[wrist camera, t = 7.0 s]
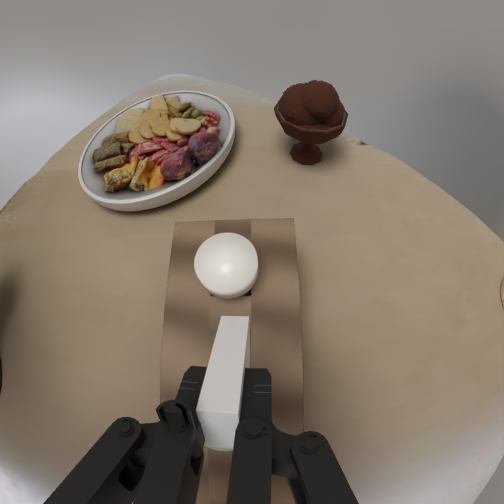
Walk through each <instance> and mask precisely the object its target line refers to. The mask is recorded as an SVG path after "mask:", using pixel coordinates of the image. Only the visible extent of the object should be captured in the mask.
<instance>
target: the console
mask: <svg viewBox="0 0 504 504" xmlns="http://www.w3.org/2000/svg"><path fill="white" fill-rule="evenodd" d="M220 233H235V234H239V235H241V236H243V237H245V238H246V239H248V240H249V241H250V242H251V243H252V245H253V246H254V248H255V250H256V252H257V258H258V277H257V280H256V282H255V284H254V285H253V287H252V288H251V296H240V297H237V298H232V299H223V298H219V297H216V296H214V295H212V294H211V293H209V292H208V291H207V290H206V289H205V287H204V286H203V284H202V283H201V281H200V280H199V278H198V277H197V275H196V272H195V268H194V260H195V255H196V253H197V250H198V249H199V247H200V246H201V245H202V243H203V242H204V241H206V240H207V239H208V238H210V237H212V236H214V235H216V234H220ZM221 316H249V328H250V365H249V368H267V369H268V371H269V373H270V374H271V376H272V422H273V424H274V426H275V427H276V428H277V429H279V430H280V431H282V432H285V433H288V434H292V435H296V436H297V435H298V434H300V433H303V363H302V334H301V312H300V294H299V278H298V264H297V250H296V238H295V226H294V218H284V219H245V220H217V221H195V222H175V229H174V235H173V242H172V249H171V257H170V264H169V273H168V281H167V291H166V301H165V311H164V323H163V337H162V354H161V379H160V404H161V403H163V402H165V401H168V400H175V398H176V395H177V392H178V390H179V387H180V384H181V382H182V378H183V375H184V373H185V372H186V371H187V370H188V368H189V367H190V366H202V367H208V363H209V359H210V356H211V352H212V348H213V345H214V341H215V337H216V334H217V330H218V326H219V323H220V319H221ZM203 451H204V462H203V467H202V472H201V477H200V483H199V488H198V493H197V498H196V504H226V502H227V494H228V486H229V478H230V470H231V462H232V454H233V450H232V451H217V450H213V449H210V448H208V447H206V446H204V447H203ZM271 504H295V501H294V498H293V495H292V492H291V489H290V486H289V484H288V481H287V478H285V477H281V476H277V475H273V474H272V476H271Z"/></svg>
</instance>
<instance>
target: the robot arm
mask: <svg viewBox="0 0 504 504" xmlns="http://www.w3.org/2000/svg"><path fill="white" fill-rule="evenodd" d="M249 365H250V328H249V316H221V319H220V323H219V326H218V330H217V334H216V337H215V341H214V345H213V348H212V352H211V356H210V359H209V363H208V367H202V366H190V367H189V368H188V370H187V371H186V372H185V373H184V375H183V378H182V382H181V384H180V387H179V390H178V392H177V395H176V398H175V400H168V401H165V402H163V403H161V404H160V405H159V406H158V407H157V409H156V412H157V414H158V416H159V419H160V421H159V422H156V423H146V424H140V423H139V422H138V421H137V420H136V419H134V418H131V417H122V418H119V419H117V420H116V421H115V422H113V423H112V425H111V426H110V427H109V428H108V429H107V430H106V432H105V433H104V434H103V435H102V436H101V437H100V439H99V440H98V441H97V442H96V443H95V444H94V446H93V447H92V448H91V449H90V450H89V451H88V453H87V454H86V455H85V456H84V457H83V458H82V460H81V461H80V462H79V463H78V464H77V465H76V466H75V468H74V469H73V470H72V471H71V472H70V473H69V475H68V476H67V477H66V478H65V479H64V480H63V482H62V483H61V484H60V485H59V486H58V487H57V488H56V490H55V491H54V492H53V493H52V494H51V495H50V497H49V498H48V499H47V500H46V501H45V502H44V503H43V504H132V502H133V501H134V499H135V501H134V504H196V498H197V493H198V488H199V483H200V477H201V472H202V467H203V462H204V451H203V447H204V443H205V444H206V446H209V447H219V448H232V449H233V454H232V462H231V470H230V478H229V486H228V494H227V502H226V504H271V476H272V474H273V475H277V476H281V477H285V478H287V481H288V484H289V486H290V489H291V492H292V495H293V498H294V501H295V504H359V503H358V501H357V499H356V497H355V495H354V493H353V491H352V489H351V487H350V485H349V483H348V481H347V479H346V477H345V475H344V473H343V471H342V469H341V467H340V465H339V463H338V461H337V459H336V457H335V455H334V453H333V451H332V449H331V447H330V445H329V443H328V441H327V439H326V438H325V437H324V436H323V435H321V434H320V433H317V432H312V431H309V432H303V433H300V434H298V435H297V436H296V435H292V434H288V433H285V432H282V431H280V430H279V429H277V428H276V427H275V426H274V424H273V422H272V376H271V374H270V373H269V371H268V369H267V368H249ZM1 379H2V373H1V361H0V389H1Z"/></svg>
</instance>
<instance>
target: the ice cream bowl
mask: <svg viewBox="0 0 504 504" xmlns="http://www.w3.org/2000/svg"><path fill="white" fill-rule="evenodd" d="M274 111H275V115H276V117H277V119H278V121H279V123H280V124H281V126H282V128H283V130H284V132H285V133H286V134H287V135H289V136H291V137H292V138H294V139H296V140H298V141H300V143H298V144H295V145H294V146H293V148H292V150H291V152H290V154H291V156H292V158H293V160H295V161H296V162H298V163H300V164H302V165H314V164H316V163H318V162H320V160H321V158H322V152H321V151H320V149H319V147H318V146H316V145H314V144H321V143H324V142H327V141H329V140H331V139H334V138H336V137H338V136H339V135H340V134H341V133H342V131H343V129H344V127H345V124H346V120H347V117H348V113H347V112H346V111H345V109H344V107H343V104H342V103H341V102H340V100H339V96H338V94H337V92H336V90H335V88H334V87H333V86H332V85H331V84H329V83H326V82H323V81H316V80H313V81H310V82H308V83H305V84H301V83H299V84H296V85H293V86H291V87H289V88H287V90H286V91H285V92H284V93H283V95H282V97H281V98H280V100H279V101H278V103H277V104H276V106H275V107H274Z"/></svg>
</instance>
